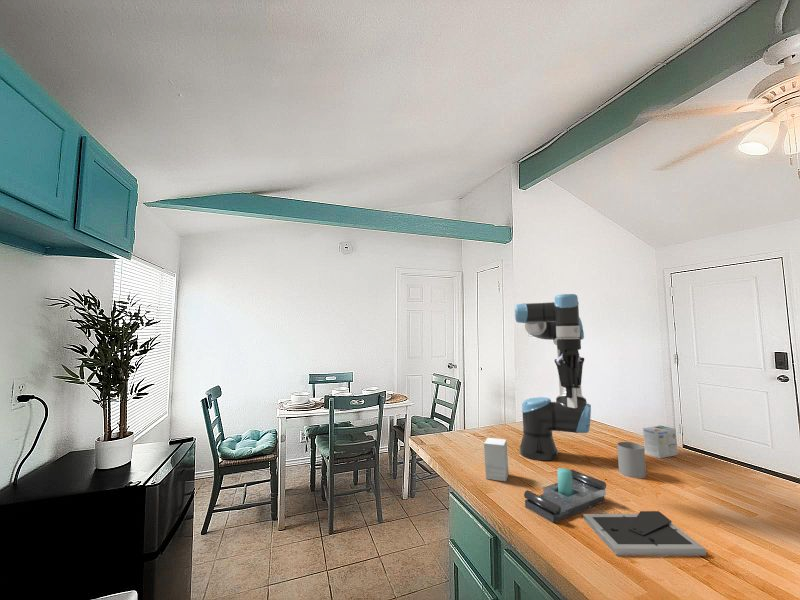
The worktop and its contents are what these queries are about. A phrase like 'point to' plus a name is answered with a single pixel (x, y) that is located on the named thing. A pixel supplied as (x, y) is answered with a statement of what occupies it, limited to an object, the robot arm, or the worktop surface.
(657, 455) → the light bulb box
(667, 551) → the picture frame
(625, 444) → the cup
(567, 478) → the pin
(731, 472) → the worktop surface
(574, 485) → the plate with side rollers
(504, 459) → the supplement box
